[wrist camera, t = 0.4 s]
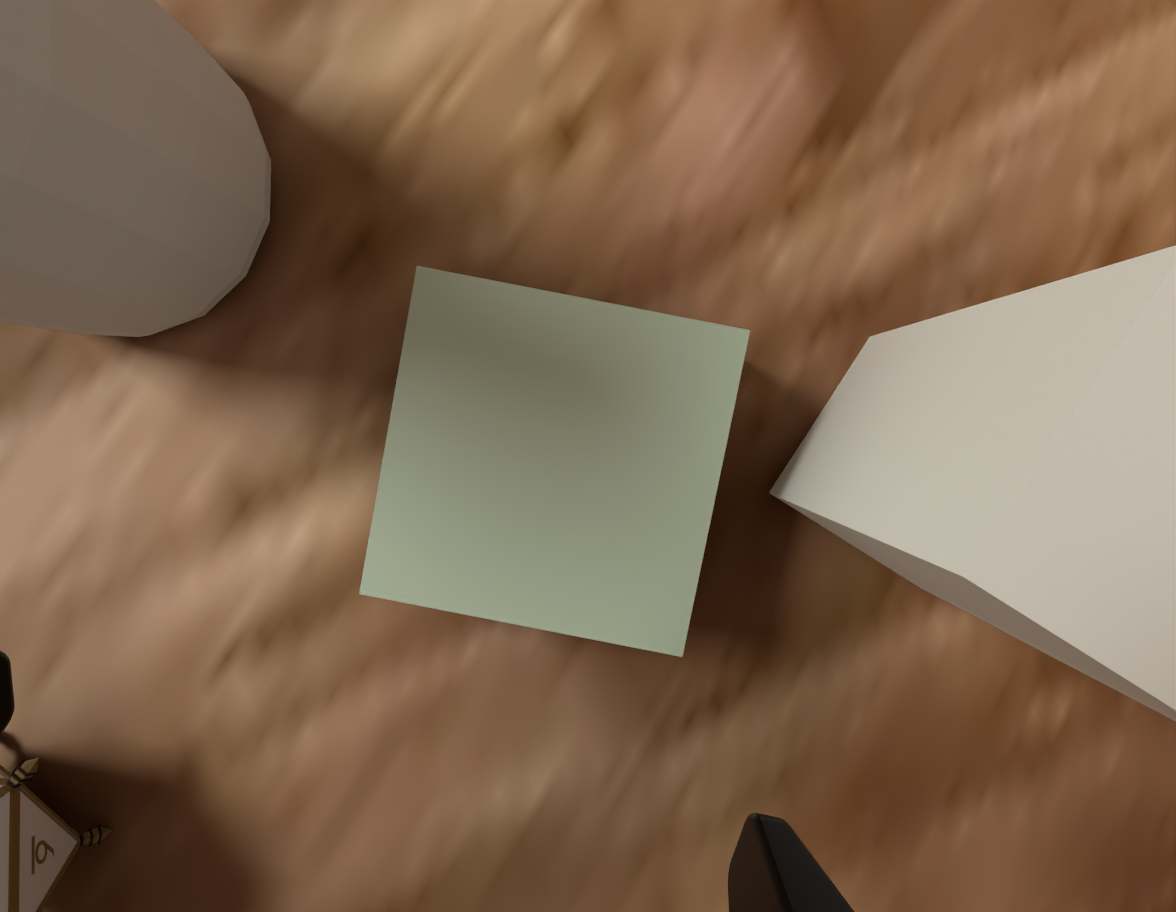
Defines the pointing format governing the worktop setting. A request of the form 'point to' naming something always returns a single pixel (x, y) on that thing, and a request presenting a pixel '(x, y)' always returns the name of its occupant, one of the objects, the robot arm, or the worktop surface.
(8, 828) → the game die
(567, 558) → the slab upper
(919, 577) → the post
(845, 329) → the worktop surface
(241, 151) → the soap bottle
